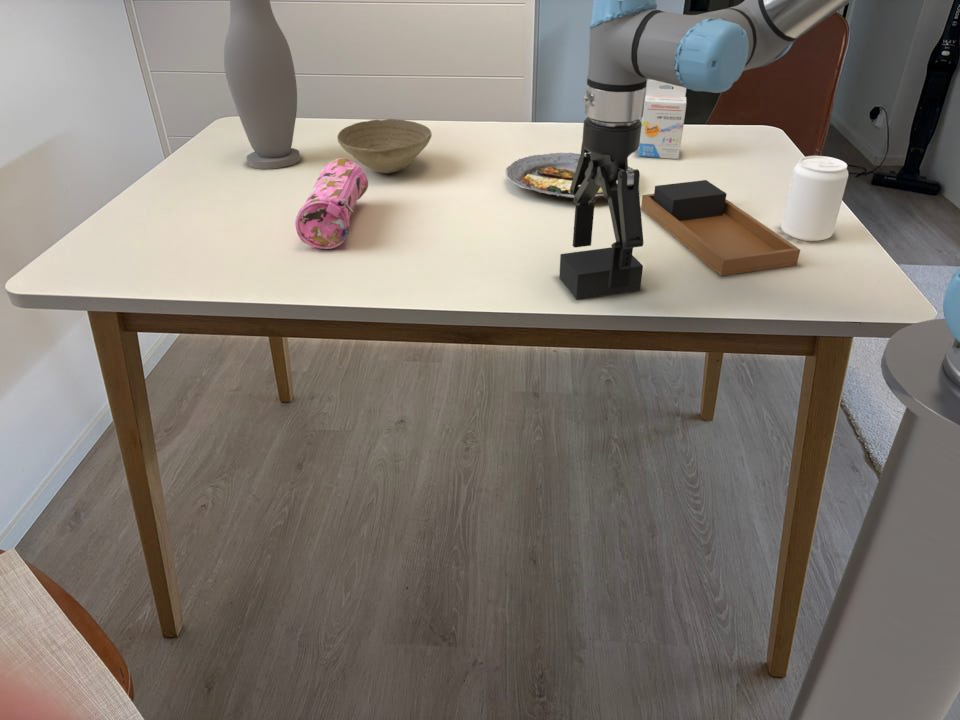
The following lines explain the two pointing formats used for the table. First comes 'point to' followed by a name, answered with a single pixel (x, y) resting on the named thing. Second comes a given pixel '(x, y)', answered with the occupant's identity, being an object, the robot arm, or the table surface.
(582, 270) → the black pad
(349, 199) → the pencil case
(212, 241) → the table surface
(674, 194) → the pad
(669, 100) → the ink box
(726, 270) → the tray
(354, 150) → the bowl
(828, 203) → the beverage can
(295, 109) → the vase
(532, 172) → the food plate
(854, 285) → the table surface
